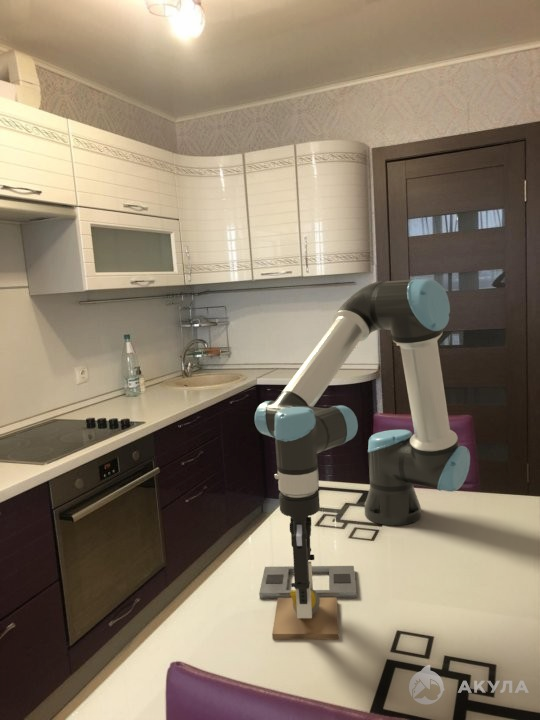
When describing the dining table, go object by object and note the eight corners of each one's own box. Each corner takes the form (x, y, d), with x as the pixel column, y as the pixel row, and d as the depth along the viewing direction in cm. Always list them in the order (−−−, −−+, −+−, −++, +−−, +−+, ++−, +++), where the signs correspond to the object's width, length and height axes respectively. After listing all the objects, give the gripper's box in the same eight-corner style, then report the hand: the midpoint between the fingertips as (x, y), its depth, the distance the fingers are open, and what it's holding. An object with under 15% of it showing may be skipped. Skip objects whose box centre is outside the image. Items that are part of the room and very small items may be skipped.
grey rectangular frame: (354, 570, 126) (353, 565, 125) (356, 597, 115) (356, 591, 114) (265, 571, 128) (264, 566, 127) (259, 598, 117) (259, 592, 117)
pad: (337, 602, 114) (336, 597, 113) (338, 639, 102) (338, 633, 102) (278, 602, 115) (277, 597, 115) (272, 638, 103) (272, 633, 103)
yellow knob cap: (328, 615, 108) (305, 600, 102) (304, 625, 109) (279, 611, 103) (322, 588, 112) (299, 572, 105) (299, 598, 113) (275, 582, 107)
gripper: (282, 473, 115) (289, 577, 118) (273, 512, 95) (282, 637, 98) (319, 472, 115) (325, 577, 118) (317, 511, 95) (324, 637, 98)
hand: (305, 604), depth 108 cm, fingers open, 7 cm apart
